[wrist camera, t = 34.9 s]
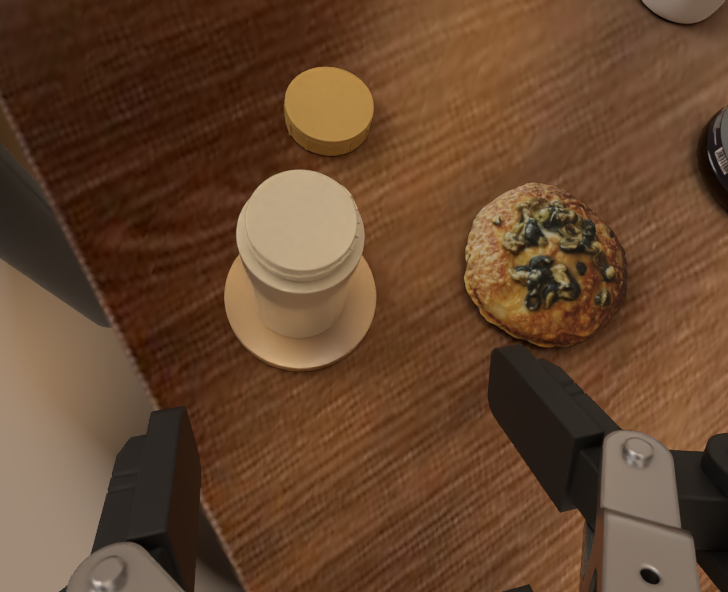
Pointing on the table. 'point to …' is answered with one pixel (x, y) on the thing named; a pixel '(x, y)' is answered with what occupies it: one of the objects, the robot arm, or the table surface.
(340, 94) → the lid
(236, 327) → the coaster
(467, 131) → the table surface
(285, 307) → the jar
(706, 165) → the supplement container
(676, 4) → the pill bottle
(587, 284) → the bread roll
